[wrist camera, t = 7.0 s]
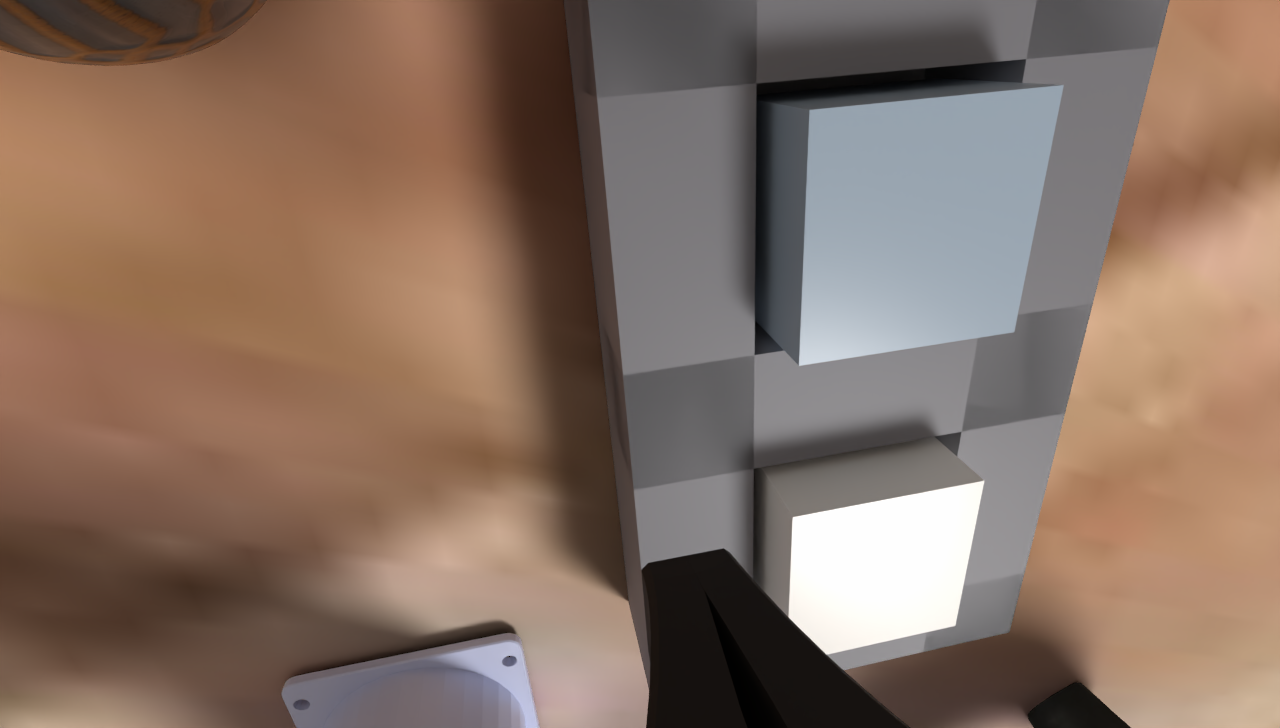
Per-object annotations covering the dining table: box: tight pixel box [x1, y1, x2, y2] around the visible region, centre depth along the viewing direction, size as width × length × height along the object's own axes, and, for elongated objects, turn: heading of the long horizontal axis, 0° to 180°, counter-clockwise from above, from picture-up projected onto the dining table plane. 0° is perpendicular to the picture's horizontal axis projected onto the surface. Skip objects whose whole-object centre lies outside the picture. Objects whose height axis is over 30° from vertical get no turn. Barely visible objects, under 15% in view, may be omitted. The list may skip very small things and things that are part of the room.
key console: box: [564, 0, 1170, 689], centre depth 18 cm, size 20×12×4 cm, turn 4°
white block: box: [753, 437, 984, 655], centre depth 19 cm, size 5×5×4 cm
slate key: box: [755, 78, 1064, 366], centre depth 15 cm, size 5×5×4 cm
